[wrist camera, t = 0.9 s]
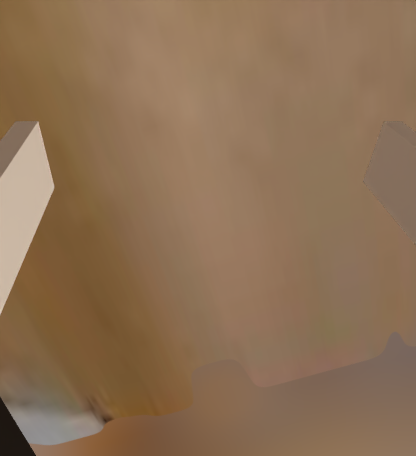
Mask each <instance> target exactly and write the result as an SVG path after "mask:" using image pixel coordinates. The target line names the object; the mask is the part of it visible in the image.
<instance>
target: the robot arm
mask: <svg viewBox="0 0 416 456" xmlns="http://www.w3.org/2000/svg"><path fill="white" fill-rule="evenodd" d="M363 182H364V184H365V185H366V186H367V187H368V188H369V190H370V191H371V192H372V193H373V194H374V196H375V197H376V198H377V199H378V200H379V202H380V203H381V204H382V205H383V206H384V208H385V209H386V210H387V211H388V213H389V214H390V215H391V216H392V217H393V219H394V220H395V221H396V222H397V223H398V225H399V226H400V227H401V228H402V229H403V231H404V232H405V233H406V234H407V235H408V237H409V238H410V239H411V240H412V241H413V243H414V244H415V245H416V132H415V131H414V130H412V129H411V128H410V127H408V126H407V125H406V124H404V123H403V122H398V121H384V122H383V125H382V128H381V131H380V134H379V137H378V140H377V143H376V145H375V148H374V151H373V154H372V157H371V160H370V163H369V166H368V169H367V172H366V175H365V178H364V181H363ZM53 189H54V184H53V180H52V176H51V171H50V167H49V163H48V159H47V155H46V151H45V147H44V143H43V139H42V135H41V131H40V127H39V123H38V121H16V122H15V123H14V124H13V126H12V127H11V128H10V129H9V131H8V132H7V133H6V134H5V136H4V137H3V138H2V139H1V141H0V314H1V311H2V309H3V307H4V304H5V302H6V300H7V297H8V295H9V293H10V290H11V288H12V286H13V283H14V281H15V279H16V276H17V274H18V272H19V269H20V267H21V264H22V262H23V260H24V257H25V255H26V253H27V250H28V248H29V246H30V243H31V241H32V239H33V236H34V234H35V232H36V229H37V227H38V225H39V222H40V220H41V218H42V215H43V213H44V211H45V208H46V206H47V204H48V201H49V199H50V196H51V194H52V192H53ZM0 456H36V455H35V453H34V452H33V450H32V448H31V447H30V445H29V443H28V442H27V440H26V438H25V437H24V435H23V434H22V432H21V430H20V429H19V427H18V425H17V424H16V422H15V420H14V419H13V417H12V416H11V414H10V412H9V411H8V409H7V407H6V406H5V404H4V402H3V401H2V399H1V398H0Z"/></svg>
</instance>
